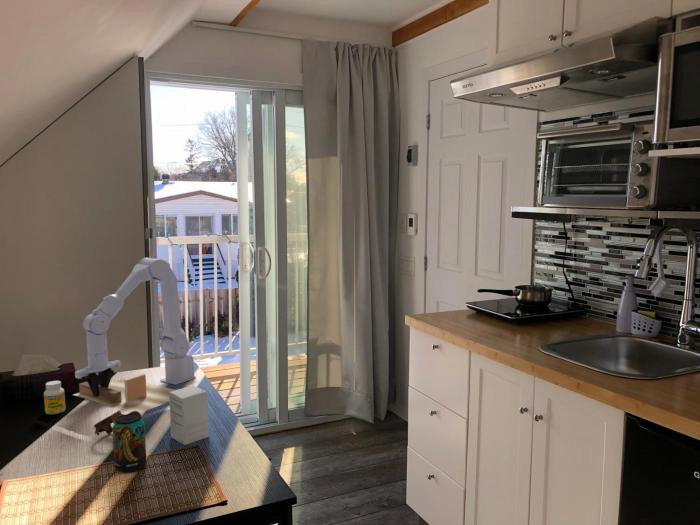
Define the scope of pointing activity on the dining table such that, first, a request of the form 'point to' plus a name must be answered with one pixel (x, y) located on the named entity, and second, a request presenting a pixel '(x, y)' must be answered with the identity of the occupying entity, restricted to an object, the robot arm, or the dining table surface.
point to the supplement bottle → (54, 398)
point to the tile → (135, 387)
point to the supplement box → (189, 414)
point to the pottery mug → (109, 422)
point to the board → (152, 400)
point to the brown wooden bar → (101, 393)
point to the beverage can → (129, 443)
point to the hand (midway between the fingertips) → (100, 394)
